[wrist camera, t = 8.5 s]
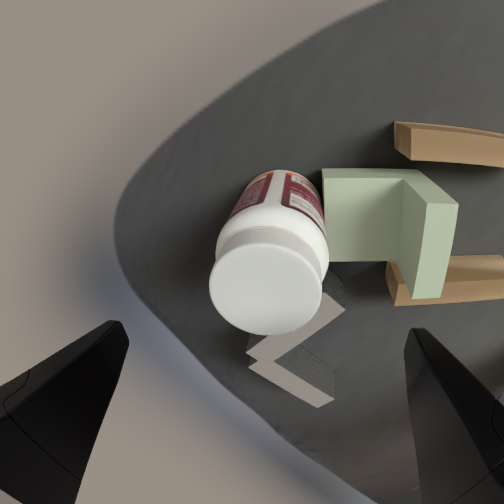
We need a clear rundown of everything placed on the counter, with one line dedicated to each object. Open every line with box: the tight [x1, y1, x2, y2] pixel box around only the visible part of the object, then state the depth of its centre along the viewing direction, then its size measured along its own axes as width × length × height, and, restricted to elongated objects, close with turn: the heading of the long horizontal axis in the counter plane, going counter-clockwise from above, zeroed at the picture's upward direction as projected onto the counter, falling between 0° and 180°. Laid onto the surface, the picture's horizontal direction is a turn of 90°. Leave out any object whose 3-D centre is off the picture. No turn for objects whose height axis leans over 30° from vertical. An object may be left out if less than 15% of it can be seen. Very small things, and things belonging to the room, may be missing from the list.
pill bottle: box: [209, 170, 329, 335], centre depth 14 cm, size 5×5×8 cm
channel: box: [385, 122, 504, 306], centre depth 15 cm, size 10×9×3 cm
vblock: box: [246, 269, 346, 408], centre depth 21 cm, size 11×6×3 cm, turn 6°
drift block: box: [322, 168, 459, 299], centre depth 14 cm, size 5×6×6 cm
